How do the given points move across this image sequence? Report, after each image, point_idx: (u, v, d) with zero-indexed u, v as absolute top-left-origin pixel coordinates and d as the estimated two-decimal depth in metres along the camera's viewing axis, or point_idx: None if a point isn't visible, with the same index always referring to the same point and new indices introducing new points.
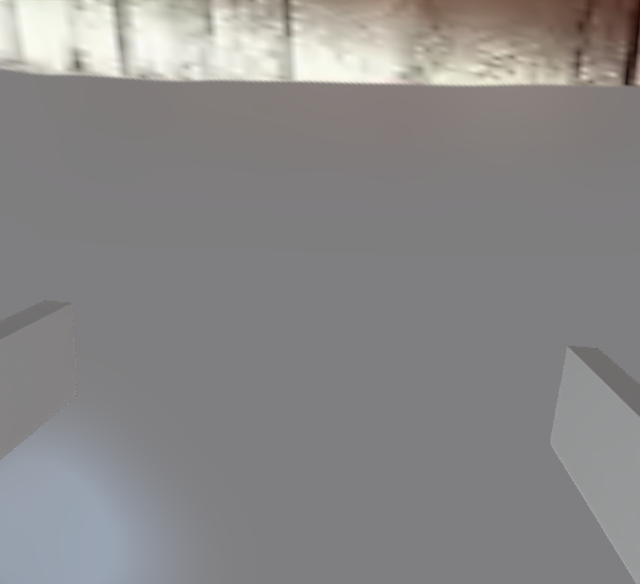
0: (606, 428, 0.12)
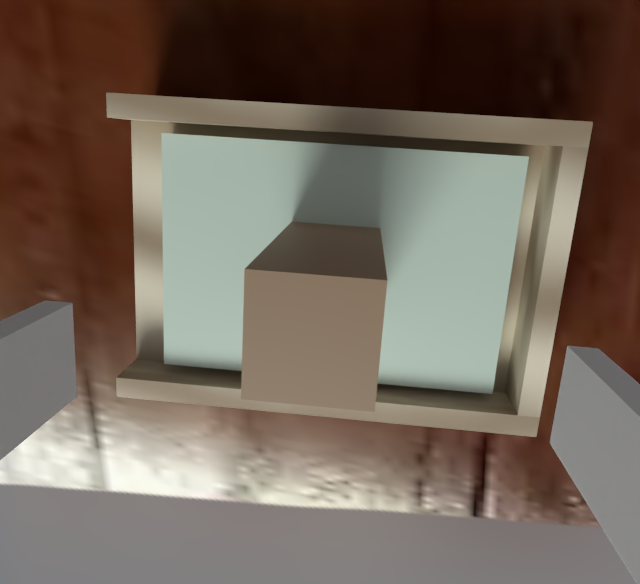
0: (606, 428, 0.12)
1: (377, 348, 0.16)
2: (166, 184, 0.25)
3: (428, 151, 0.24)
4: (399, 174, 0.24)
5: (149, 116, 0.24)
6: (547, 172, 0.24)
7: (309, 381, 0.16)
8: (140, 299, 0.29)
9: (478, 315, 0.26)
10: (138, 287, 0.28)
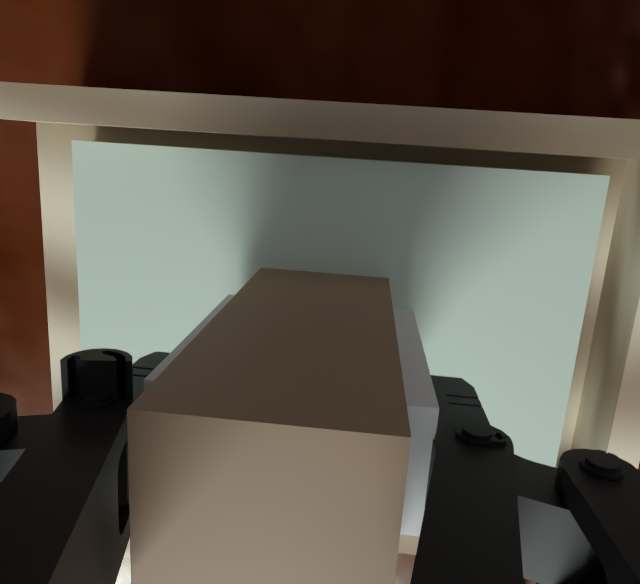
0: None
1: (390, 561, 0.08)
2: (81, 214, 0.18)
3: (460, 167, 0.16)
4: (417, 201, 0.17)
5: (47, 116, 0.16)
6: (635, 198, 0.17)
7: None
8: (57, 367, 0.21)
9: (529, 402, 0.18)
10: (54, 352, 0.21)
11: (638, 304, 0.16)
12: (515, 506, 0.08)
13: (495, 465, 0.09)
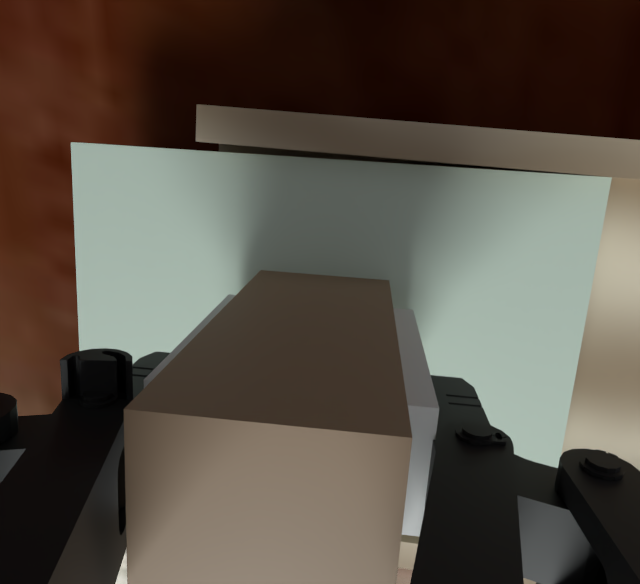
0: None
1: (391, 565, 0.08)
2: (80, 216, 0.18)
3: (460, 169, 0.16)
4: (417, 203, 0.17)
5: (261, 141, 0.16)
6: None
7: None
8: None
9: (531, 406, 0.18)
10: None
11: None
12: (515, 506, 0.08)
13: (495, 465, 0.09)
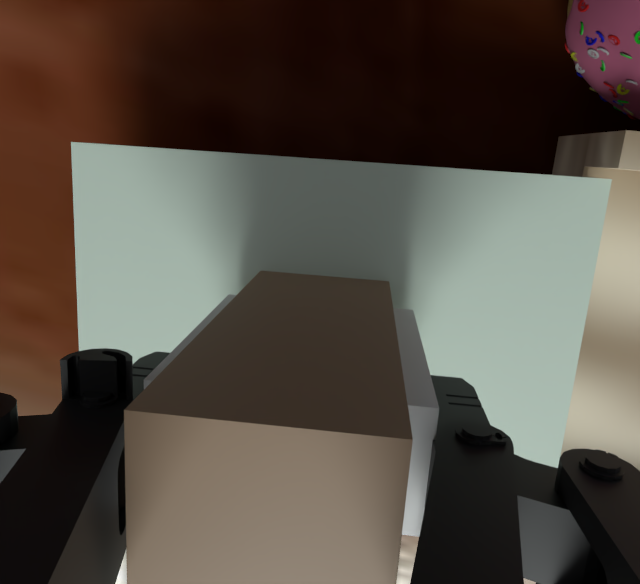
0: None
1: (391, 566, 0.08)
2: (80, 216, 0.18)
3: (461, 170, 0.16)
4: (417, 204, 0.17)
5: None
6: None
7: None
8: None
9: (531, 407, 0.18)
10: None
11: None
12: (515, 506, 0.08)
13: (495, 465, 0.09)
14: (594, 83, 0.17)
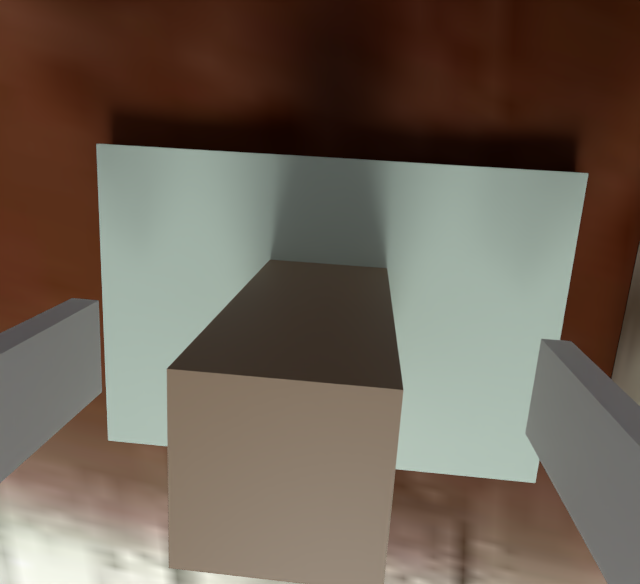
0: (573, 416, 0.12)
1: (386, 496, 0.10)
2: (105, 211, 0.19)
3: (451, 166, 0.18)
4: (412, 197, 0.18)
5: None
6: None
7: (277, 544, 0.10)
8: None
9: (517, 382, 0.19)
10: None
11: None
12: None
13: None
14: None
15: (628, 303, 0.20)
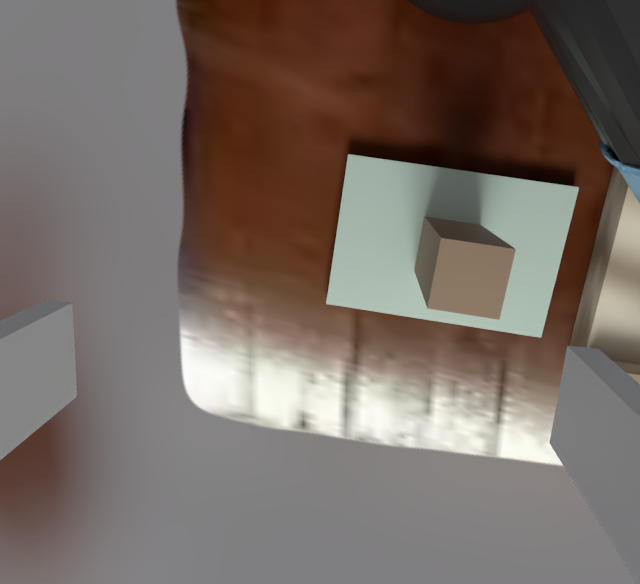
0: (606, 428, 0.12)
1: (505, 285, 0.30)
2: (346, 186, 0.40)
3: (516, 179, 0.39)
4: (496, 192, 0.39)
5: None
6: None
7: (466, 300, 0.31)
8: (599, 311, 0.39)
9: (537, 285, 0.40)
10: (600, 303, 0.38)
11: None
12: None
13: None
14: None
15: (593, 248, 0.40)
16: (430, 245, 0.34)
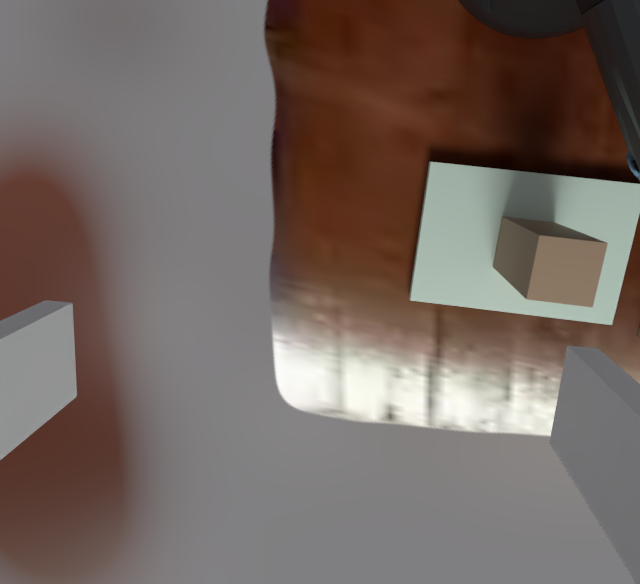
0: (606, 428, 0.12)
1: (598, 275, 0.34)
2: (429, 191, 0.43)
3: (588, 179, 0.42)
4: (569, 191, 0.42)
5: None
6: None
7: (562, 291, 0.34)
8: None
9: (608, 276, 0.44)
10: None
11: None
12: None
13: None
14: None
15: None
16: (520, 242, 0.37)
